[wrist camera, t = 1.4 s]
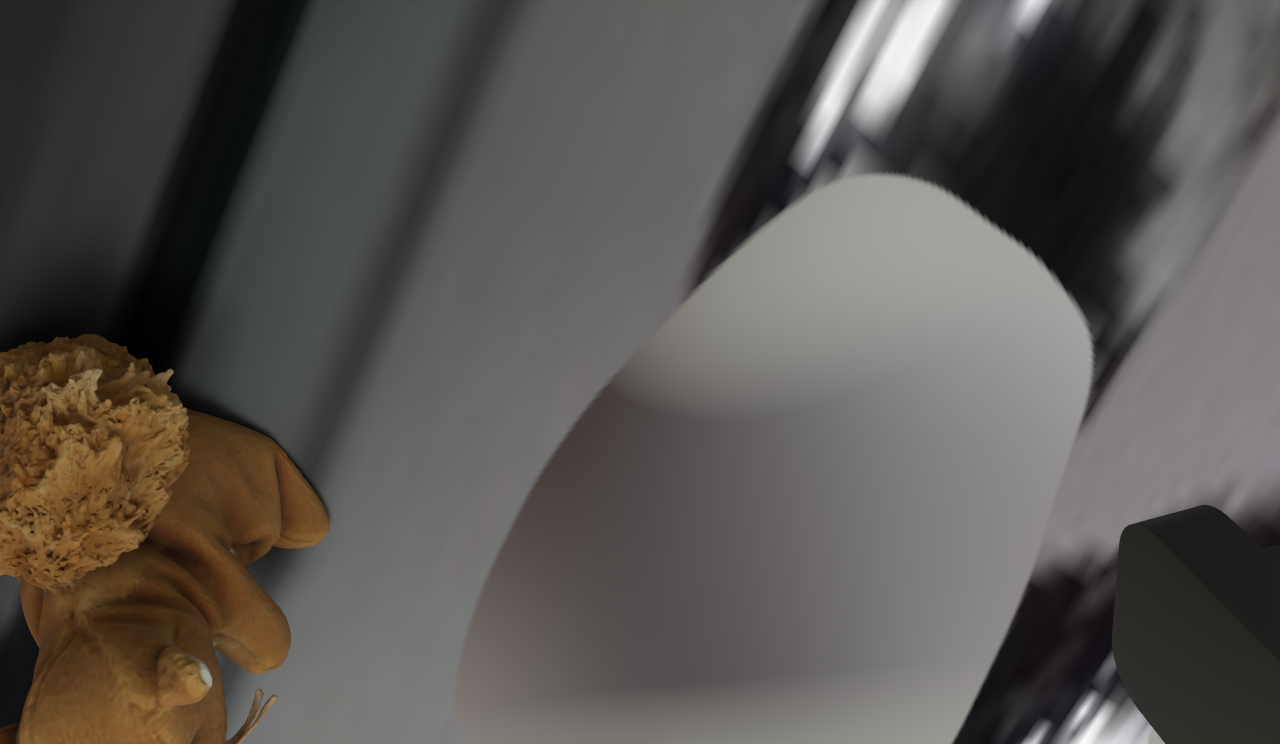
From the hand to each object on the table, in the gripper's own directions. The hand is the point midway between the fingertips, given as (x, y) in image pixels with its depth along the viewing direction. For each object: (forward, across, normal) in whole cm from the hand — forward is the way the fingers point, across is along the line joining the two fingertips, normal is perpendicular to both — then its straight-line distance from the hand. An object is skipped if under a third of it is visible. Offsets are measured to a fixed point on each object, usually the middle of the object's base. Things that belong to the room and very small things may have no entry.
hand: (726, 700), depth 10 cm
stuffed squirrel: (+28, -15, -11) cm, 34 cm away
